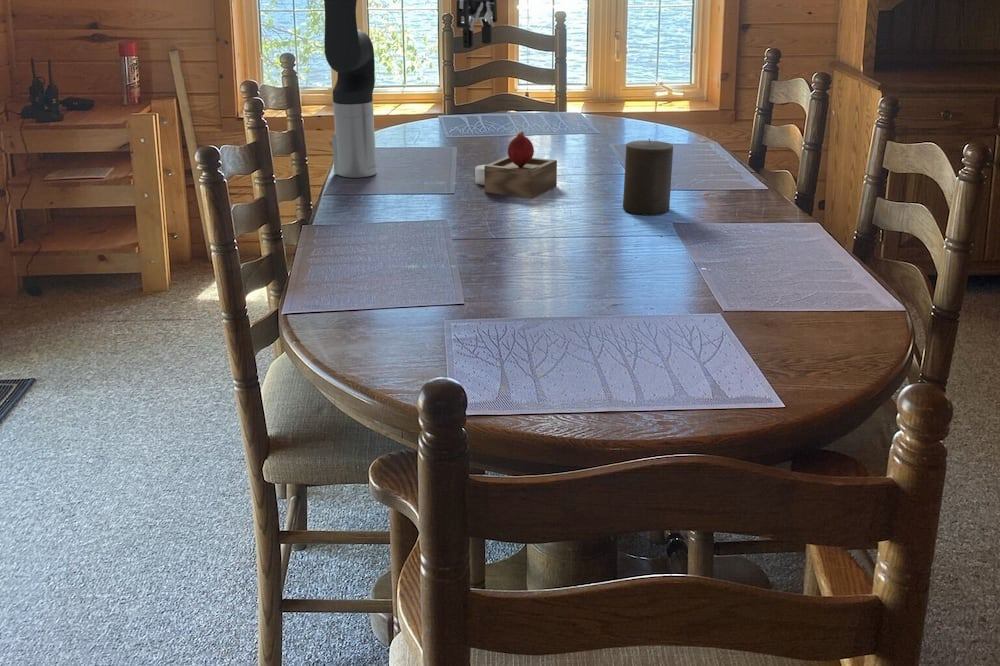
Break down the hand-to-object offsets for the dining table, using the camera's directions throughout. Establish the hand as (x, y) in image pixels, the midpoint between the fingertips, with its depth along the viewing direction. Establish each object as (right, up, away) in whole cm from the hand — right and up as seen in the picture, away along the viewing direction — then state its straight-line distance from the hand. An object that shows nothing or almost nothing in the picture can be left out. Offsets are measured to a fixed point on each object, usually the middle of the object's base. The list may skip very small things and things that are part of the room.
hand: (477, 45), depth 238 cm
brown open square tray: (+10, -32, 0) cm, 34 cm away
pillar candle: (+36, -39, -16) cm, 55 cm away
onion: (+10, -28, -2) cm, 29 cm away
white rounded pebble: (+2, -30, +7) cm, 31 cm away
